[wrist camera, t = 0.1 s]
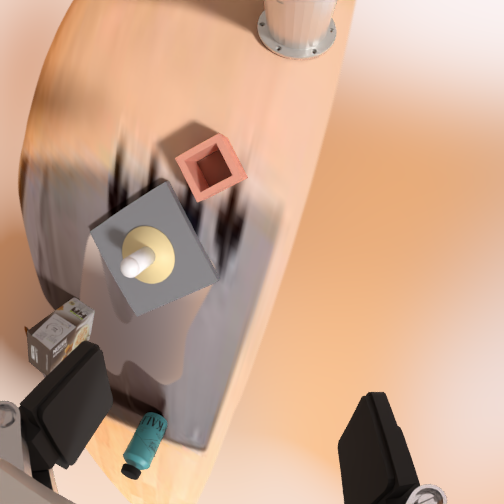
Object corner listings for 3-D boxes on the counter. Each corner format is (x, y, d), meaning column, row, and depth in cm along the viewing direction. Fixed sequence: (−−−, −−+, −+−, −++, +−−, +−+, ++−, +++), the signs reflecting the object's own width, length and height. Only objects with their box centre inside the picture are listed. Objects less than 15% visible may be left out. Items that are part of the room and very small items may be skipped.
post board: (94, 230, 48) (63, 242, 39) (169, 181, 44) (143, 184, 35) (140, 313, 51) (117, 337, 42) (219, 278, 48) (206, 302, 39)
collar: (188, 159, 43) (175, 158, 37) (227, 138, 41) (219, 133, 36) (207, 198, 44) (197, 202, 39) (247, 177, 43) (242, 178, 37)
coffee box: (73, 295, 52) (26, 329, 37) (95, 310, 53) (50, 349, 37) (69, 325, 55) (27, 361, 40) (90, 340, 55) (50, 380, 40)
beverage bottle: (157, 425, 61) (130, 483, 42) (140, 409, 60) (109, 467, 41) (175, 422, 60) (150, 484, 40) (158, 405, 58) (127, 467, 39)
